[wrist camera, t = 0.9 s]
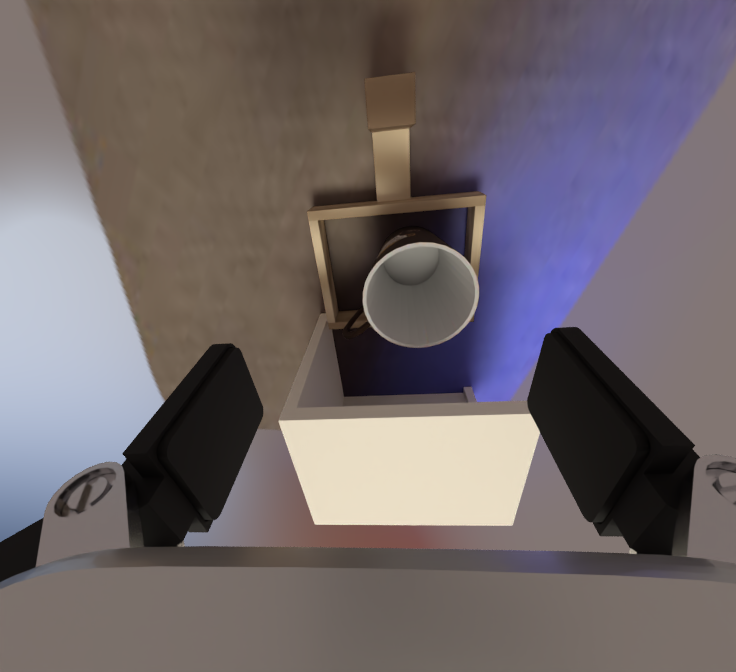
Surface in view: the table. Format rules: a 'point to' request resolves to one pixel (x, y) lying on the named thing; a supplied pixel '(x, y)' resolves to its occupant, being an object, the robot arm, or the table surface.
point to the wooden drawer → (390, 185)
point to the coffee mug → (417, 291)
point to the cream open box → (403, 450)
